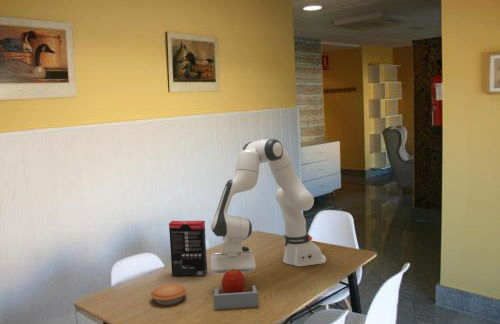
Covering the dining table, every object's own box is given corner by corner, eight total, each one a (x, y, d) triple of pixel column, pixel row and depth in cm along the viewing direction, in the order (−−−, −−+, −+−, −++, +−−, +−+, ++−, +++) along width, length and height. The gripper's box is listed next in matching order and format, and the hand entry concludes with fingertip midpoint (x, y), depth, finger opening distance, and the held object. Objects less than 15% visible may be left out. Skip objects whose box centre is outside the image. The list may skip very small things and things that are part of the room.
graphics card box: (208, 271, 234) (205, 219, 231) (205, 276, 227) (202, 222, 224) (175, 272, 236) (171, 219, 232) (171, 277, 229) (167, 223, 225)
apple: (236, 292, 207) (234, 262, 205) (251, 298, 199) (249, 267, 197) (217, 299, 200) (216, 268, 198) (232, 306, 192) (231, 274, 190)
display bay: (255, 291, 206) (255, 278, 205) (258, 306, 191) (257, 292, 190) (215, 294, 205) (214, 281, 204) (214, 309, 190) (213, 295, 189)
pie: (171, 289, 213) (170, 279, 212) (194, 297, 203) (193, 286, 203) (143, 301, 201) (142, 290, 201) (167, 310, 191) (166, 299, 191)
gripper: (209, 250, 210) (209, 279, 201) (254, 248, 211) (256, 276, 202) (210, 256, 215) (210, 285, 206) (254, 254, 216) (256, 282, 207)
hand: (233, 280), depth 204 cm, fingers closed, pressing on apple
